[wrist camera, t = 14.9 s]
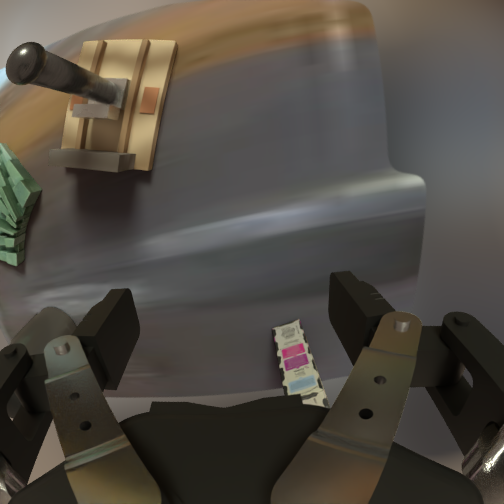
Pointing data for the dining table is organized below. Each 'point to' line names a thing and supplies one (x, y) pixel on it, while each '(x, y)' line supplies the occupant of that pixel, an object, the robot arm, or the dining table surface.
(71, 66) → the handle
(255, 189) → the dining table surface
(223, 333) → the dining table surface
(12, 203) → the money
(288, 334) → the candy bar box
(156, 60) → the press bench
